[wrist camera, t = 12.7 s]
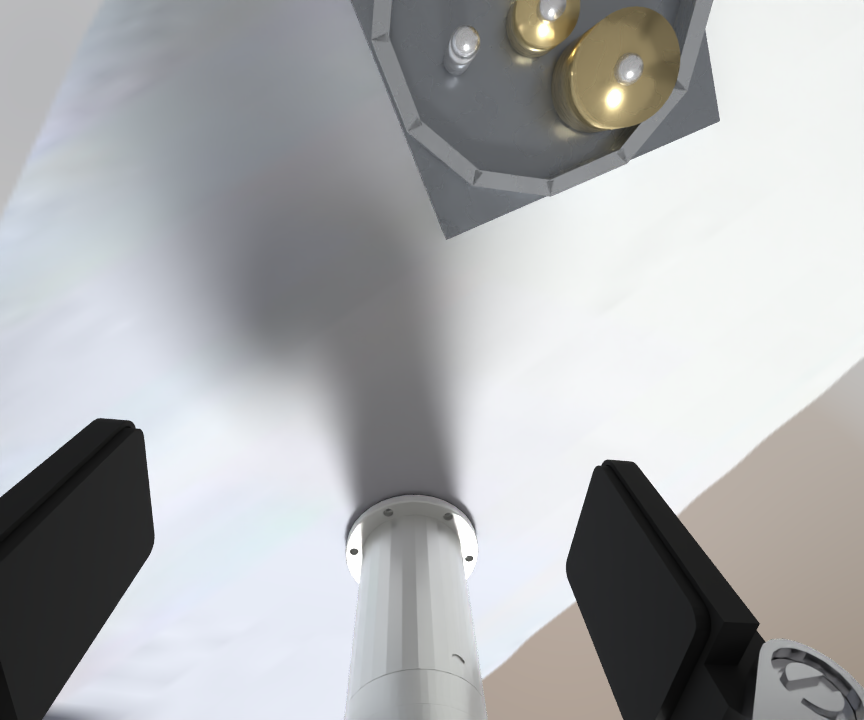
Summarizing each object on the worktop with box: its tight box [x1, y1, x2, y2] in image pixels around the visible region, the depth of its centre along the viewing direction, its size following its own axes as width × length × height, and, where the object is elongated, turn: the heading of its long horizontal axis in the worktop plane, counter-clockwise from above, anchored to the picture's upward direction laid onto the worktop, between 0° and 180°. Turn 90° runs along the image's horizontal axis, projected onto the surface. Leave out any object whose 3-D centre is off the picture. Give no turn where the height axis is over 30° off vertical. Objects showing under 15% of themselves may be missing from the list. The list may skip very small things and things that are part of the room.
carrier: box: [351, 0, 720, 240], centre depth 28 cm, size 20×20×7 cm
